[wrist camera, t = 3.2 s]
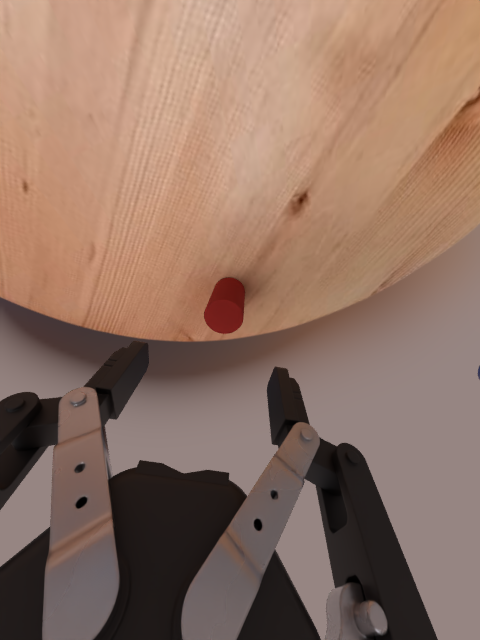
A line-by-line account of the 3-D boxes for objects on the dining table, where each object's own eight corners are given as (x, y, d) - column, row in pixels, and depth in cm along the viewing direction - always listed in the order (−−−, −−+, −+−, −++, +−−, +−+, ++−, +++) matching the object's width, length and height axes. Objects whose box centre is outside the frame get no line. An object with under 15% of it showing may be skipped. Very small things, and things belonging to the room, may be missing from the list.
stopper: (233, 271, 22) (228, 292, 17) (250, 296, 24) (250, 322, 19) (207, 287, 23) (195, 312, 18) (226, 311, 25) (219, 339, 20)
